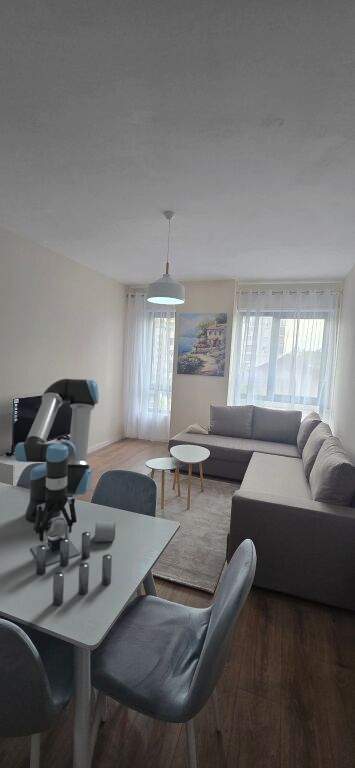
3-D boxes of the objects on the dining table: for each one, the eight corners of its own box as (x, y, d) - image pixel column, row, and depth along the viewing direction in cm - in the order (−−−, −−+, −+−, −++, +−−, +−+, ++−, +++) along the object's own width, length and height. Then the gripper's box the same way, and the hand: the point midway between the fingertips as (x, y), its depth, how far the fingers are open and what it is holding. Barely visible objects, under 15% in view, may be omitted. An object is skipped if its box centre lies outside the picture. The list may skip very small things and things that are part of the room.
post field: (35, 571, 115) (35, 546, 115) (87, 553, 127) (88, 531, 126) (54, 607, 100) (55, 579, 99) (112, 583, 112) (113, 557, 111)
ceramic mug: (115, 544, 134) (115, 525, 134) (94, 545, 132) (94, 527, 132) (114, 531, 145) (115, 513, 144) (94, 532, 143) (95, 514, 142)
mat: (30, 548, 129) (30, 547, 129) (66, 537, 137) (66, 536, 137) (41, 567, 118) (41, 566, 118) (80, 554, 126) (80, 553, 126)
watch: (42, 546, 127) (42, 518, 126) (63, 540, 132) (64, 513, 131) (46, 553, 123) (47, 524, 122) (68, 546, 128) (69, 519, 127)
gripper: (29, 496, 116) (29, 559, 118) (87, 484, 129) (85, 541, 131) (24, 488, 122) (23, 548, 124) (79, 478, 135) (78, 532, 137)
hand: (55, 544), depth 127 cm, fingers closed on watch, 8 cm apart
